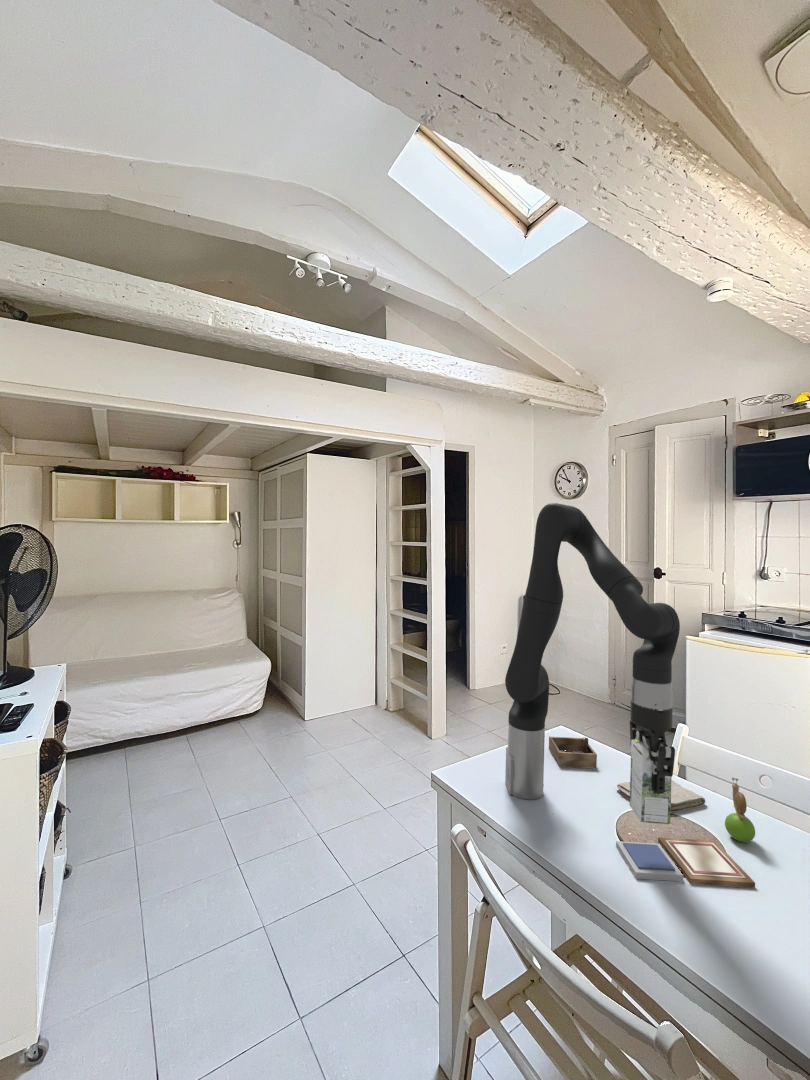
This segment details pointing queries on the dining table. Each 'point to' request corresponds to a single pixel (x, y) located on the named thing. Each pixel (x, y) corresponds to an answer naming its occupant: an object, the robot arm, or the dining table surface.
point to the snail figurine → (739, 818)
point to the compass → (583, 746)
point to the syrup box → (647, 788)
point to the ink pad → (648, 861)
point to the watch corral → (570, 757)
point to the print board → (705, 863)
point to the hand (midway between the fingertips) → (649, 783)
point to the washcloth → (679, 797)
